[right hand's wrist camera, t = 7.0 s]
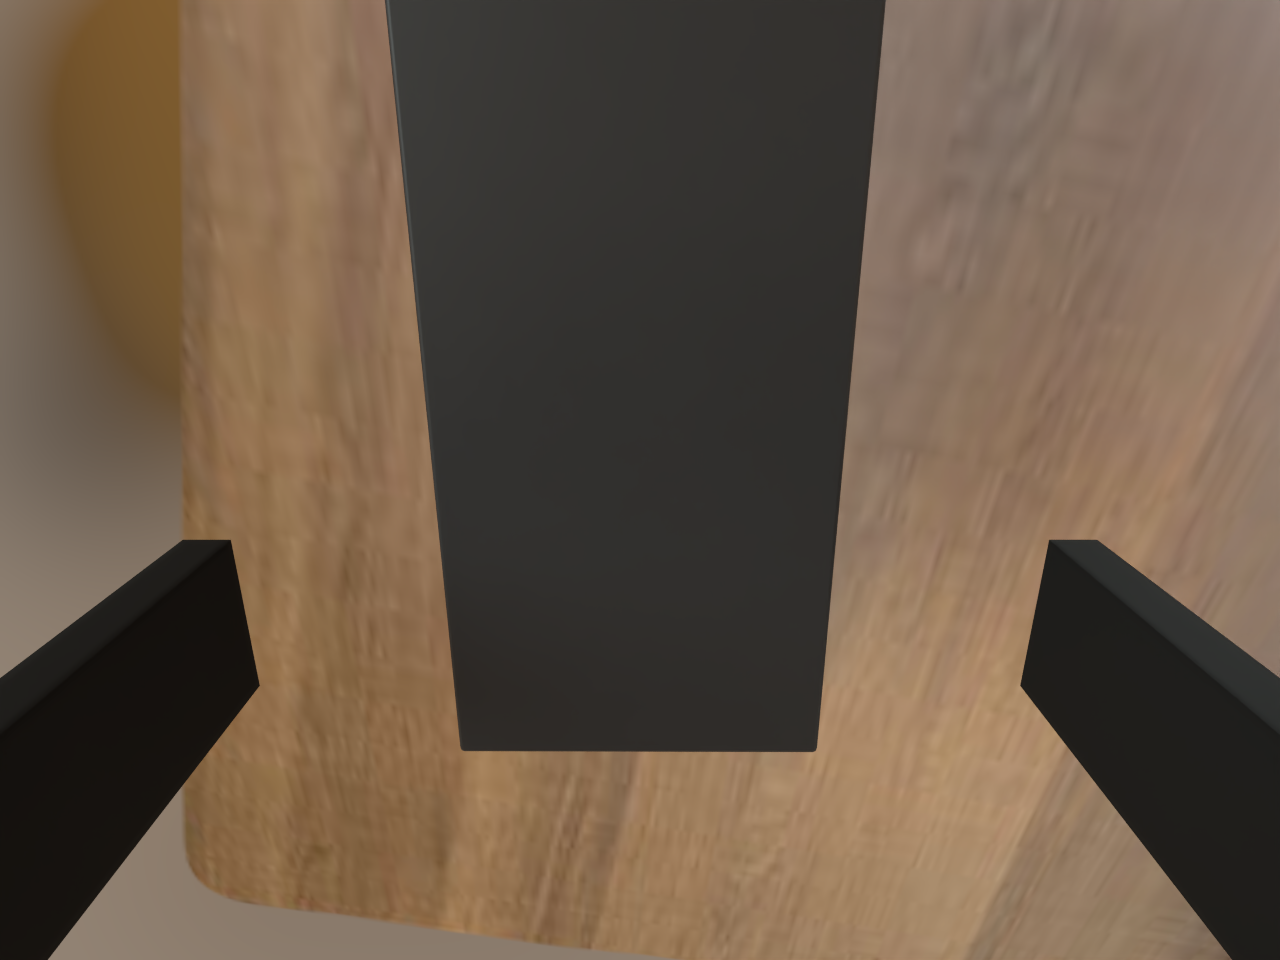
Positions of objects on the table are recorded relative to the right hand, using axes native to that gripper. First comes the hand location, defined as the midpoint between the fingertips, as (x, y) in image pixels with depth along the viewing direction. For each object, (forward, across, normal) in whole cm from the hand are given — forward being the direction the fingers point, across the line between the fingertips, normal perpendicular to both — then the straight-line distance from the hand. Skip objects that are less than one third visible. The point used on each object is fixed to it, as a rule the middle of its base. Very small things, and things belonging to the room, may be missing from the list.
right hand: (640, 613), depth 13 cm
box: (+10, 0, -10) cm, 14 cm away
